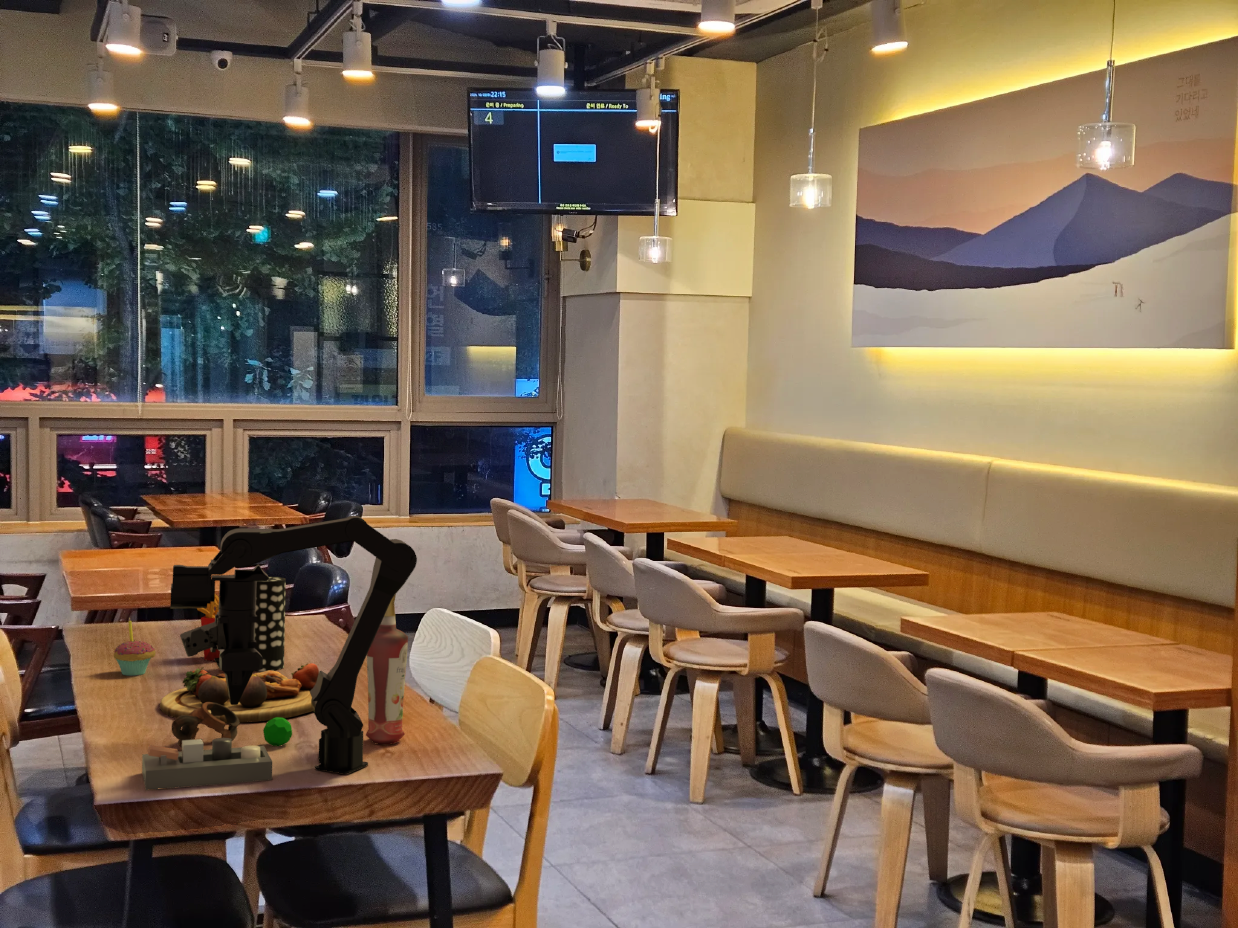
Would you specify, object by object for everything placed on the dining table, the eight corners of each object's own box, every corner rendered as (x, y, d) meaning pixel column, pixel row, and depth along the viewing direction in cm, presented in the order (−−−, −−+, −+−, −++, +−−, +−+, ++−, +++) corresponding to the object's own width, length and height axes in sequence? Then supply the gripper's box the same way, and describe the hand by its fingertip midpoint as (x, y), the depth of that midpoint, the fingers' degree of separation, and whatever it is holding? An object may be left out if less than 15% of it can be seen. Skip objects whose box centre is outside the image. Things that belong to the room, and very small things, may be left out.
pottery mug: (202, 737, 237) (225, 699, 237) (230, 769, 232) (254, 730, 232) (150, 732, 227) (174, 693, 227) (178, 766, 222) (203, 725, 222)
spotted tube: (249, 663, 300) (250, 576, 300) (286, 664, 301) (288, 576, 300) (242, 671, 292) (244, 581, 291) (281, 671, 293) (282, 581, 292)
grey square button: (201, 757, 212) (201, 739, 212) (203, 762, 210) (203, 743, 209) (181, 758, 211) (181, 740, 211) (183, 763, 208) (183, 744, 208)
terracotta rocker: (175, 755, 211) (177, 749, 211) (177, 759, 208) (178, 753, 208) (147, 750, 209) (149, 744, 209) (148, 755, 206) (150, 748, 206)
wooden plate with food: (321, 685, 281) (320, 647, 281) (336, 719, 251) (335, 676, 251) (162, 694, 272) (161, 655, 271) (157, 731, 241) (157, 686, 241)
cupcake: (105, 673, 286) (105, 618, 285) (139, 667, 293) (139, 613, 292) (129, 679, 281) (129, 623, 280) (163, 673, 288) (164, 618, 287)
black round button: (230, 755, 214) (230, 737, 214) (232, 760, 211) (232, 741, 211) (211, 756, 213) (211, 738, 213) (212, 761, 210) (213, 742, 210)
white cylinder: (258, 763, 216) (258, 744, 216) (261, 767, 213) (261, 749, 213) (239, 764, 215) (240, 746, 215) (241, 769, 212) (242, 750, 212)
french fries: (238, 656, 308) (239, 592, 308) (224, 663, 300) (225, 597, 300) (202, 654, 309) (203, 591, 309) (187, 661, 301) (188, 596, 300)
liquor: (398, 747, 232) (401, 589, 231) (358, 745, 233) (361, 587, 232) (411, 737, 239) (414, 584, 238) (372, 734, 240) (375, 581, 239)
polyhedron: (297, 745, 232) (298, 718, 232) (273, 750, 228) (274, 723, 228) (281, 740, 235) (281, 713, 235) (257, 744, 231) (257, 717, 231)
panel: (263, 763, 220) (263, 737, 219) (272, 779, 210) (272, 752, 210) (142, 772, 212) (142, 745, 212) (145, 790, 203) (146, 761, 203)
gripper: (179, 599, 217) (176, 693, 218) (189, 618, 200) (186, 720, 201) (249, 599, 222) (246, 691, 222) (264, 616, 204) (261, 716, 205)
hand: (234, 704), depth 212 cm, fingers closed
